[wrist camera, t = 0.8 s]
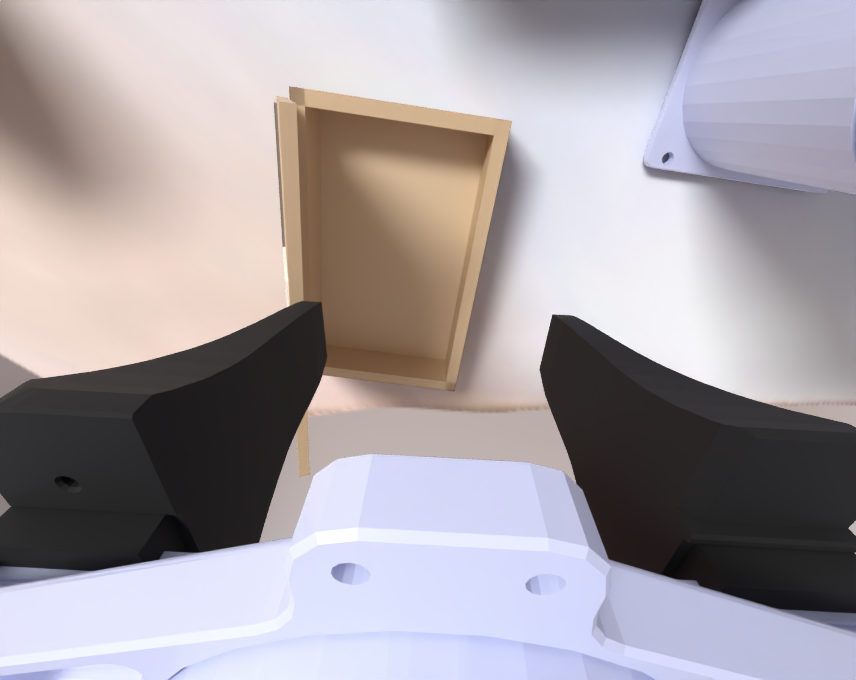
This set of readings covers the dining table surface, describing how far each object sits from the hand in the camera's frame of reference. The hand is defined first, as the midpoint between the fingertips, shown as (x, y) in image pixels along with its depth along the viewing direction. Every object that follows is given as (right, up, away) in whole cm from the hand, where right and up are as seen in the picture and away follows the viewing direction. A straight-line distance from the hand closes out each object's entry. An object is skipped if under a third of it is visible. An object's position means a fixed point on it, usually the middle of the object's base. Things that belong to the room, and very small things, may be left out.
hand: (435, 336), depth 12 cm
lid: (-5, +2, +3) cm, 7 cm away
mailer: (-2, +5, +9) cm, 11 cm away
